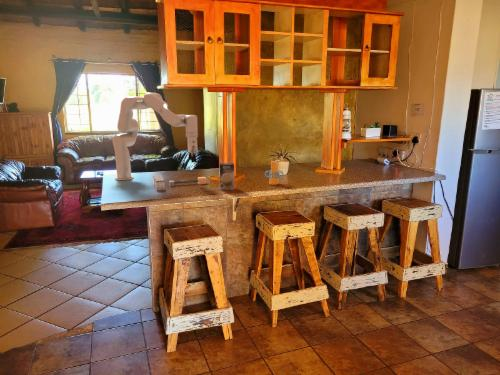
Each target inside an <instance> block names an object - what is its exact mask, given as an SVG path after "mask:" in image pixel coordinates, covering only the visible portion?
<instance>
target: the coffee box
mask: <svg viewBox="0 0 500 375" xmlns="http://www.w3.org/2000/svg"><path fill="white" fill-rule="evenodd" d="M233 190H234V191H235V163H234V162H219V191H233Z"/></svg>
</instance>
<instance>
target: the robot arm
mask: <svg viewBox="0 0 500 375" xmlns="http://www.w3.org/2000/svg"><path fill="white" fill-rule="evenodd" d="M147 109H152V110H154V111H155V112H156V113H158V114H159V116H160V117H161V119H162V120H163V121H164V122H165V123H166V124H169V125H171V126H172V127H175V128H178V127H185V138H186V139H187V151H188V160H189V161H191V163H197V153H198V152H199V151H198V138H199V136H198V135H199V134H198V133H199V132H198V115H195V114H182V113H181V114H175V113H174V112H172V111H171V110H170V109H169V104H168V103H167V102H166V101H165V100H163V97H162V95H161V94H160V93H157V92H146V93H145V94H144V95H143V96H137V95H136V96H126V97H124V98H123V99H122V100H121V103H120V110H119V115H118V120H117V130H118V132H120V133H118V134H115V135H114V136H113V137H112V146H113V149H114V155H115V156H114V157H115V167H116V176H115V177H114V179H115V180H116V181H129V180H133V179H134V178H135V177H134V176H135V175H132V165H131V156H130V151H129V149H128V147H132V146H134V145H135V143H136V142H137V138H138V133H139V122H138V121H137V119H135V118H133V117H134V110H147Z"/></svg>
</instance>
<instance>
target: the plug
mask: <svg viewBox="0 0 500 375" xmlns="http://www.w3.org/2000/svg"><path fill="white" fill-rule="evenodd" d="M189 183H191V184H192V183H197V184H198V185H207V177H206V176H199V177H197V179H191V180H190V179H189V180H175V181H174V180H168V186H169V187H171V188H172V187H175V185H176V184H177V185H178V184H189Z"/></svg>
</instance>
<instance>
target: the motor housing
mask: <svg viewBox="0 0 500 375" xmlns="http://www.w3.org/2000/svg"><path fill="white" fill-rule="evenodd" d="M152 179H153V180H152V181H153V186H154V188H155V190H156V191H165V189H166V188H165V187H166V186H165V185H166V184H165V179H164V178H163V176H162V174H153V175H152Z"/></svg>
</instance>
